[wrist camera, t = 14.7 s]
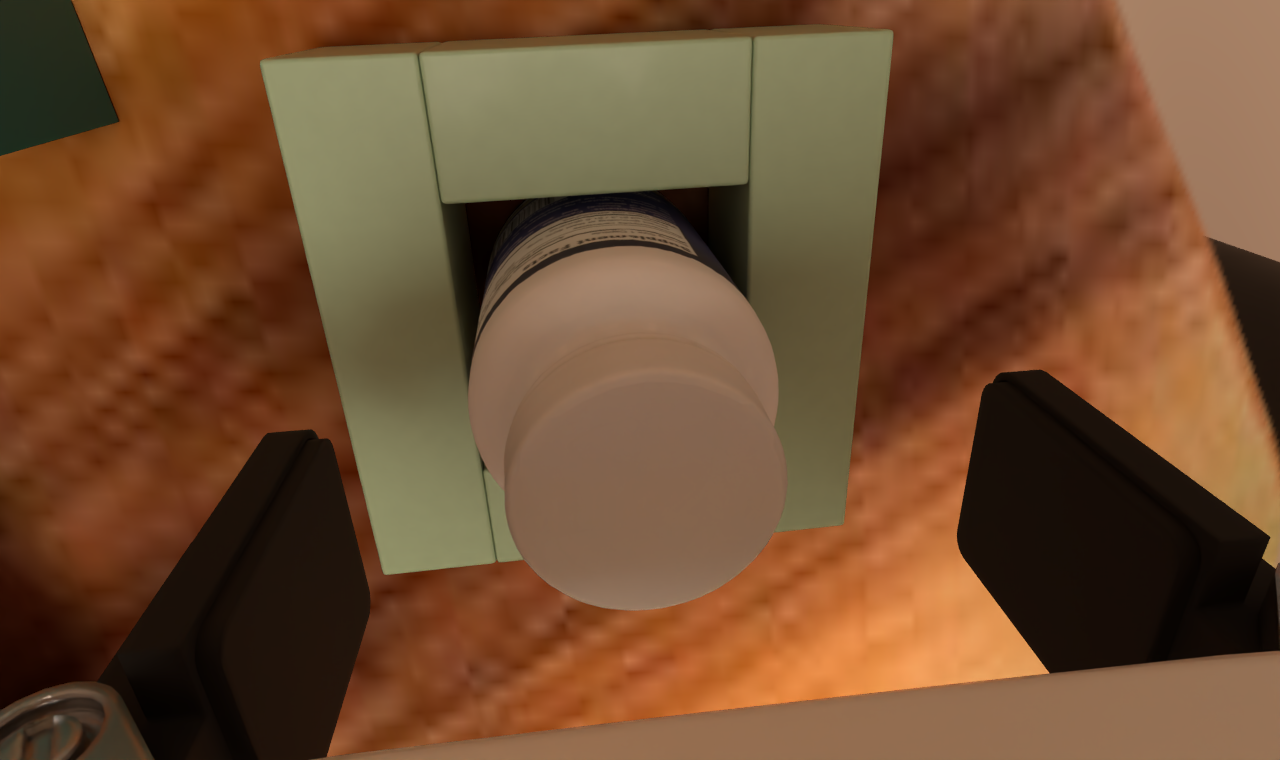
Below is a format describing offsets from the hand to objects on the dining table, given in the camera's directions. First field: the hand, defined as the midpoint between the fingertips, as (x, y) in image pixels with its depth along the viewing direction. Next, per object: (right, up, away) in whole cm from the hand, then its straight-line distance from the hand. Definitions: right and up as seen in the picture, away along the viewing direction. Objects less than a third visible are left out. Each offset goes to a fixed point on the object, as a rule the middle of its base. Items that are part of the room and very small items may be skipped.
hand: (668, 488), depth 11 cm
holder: (-2, +4, +8) cm, 9 cm away
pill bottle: (-2, +4, +8) cm, 10 cm away
